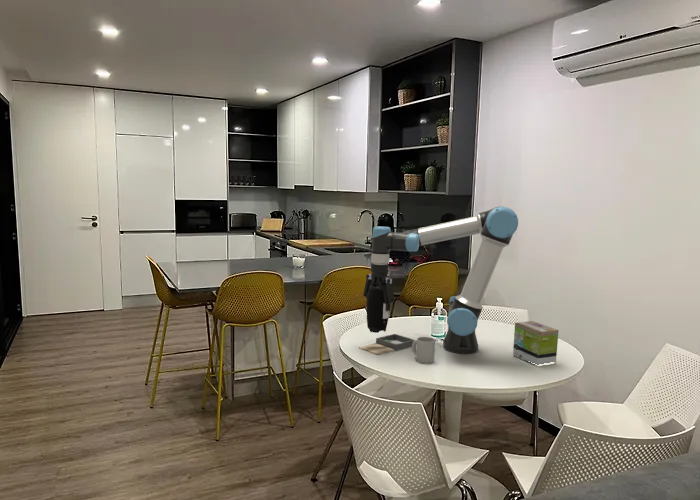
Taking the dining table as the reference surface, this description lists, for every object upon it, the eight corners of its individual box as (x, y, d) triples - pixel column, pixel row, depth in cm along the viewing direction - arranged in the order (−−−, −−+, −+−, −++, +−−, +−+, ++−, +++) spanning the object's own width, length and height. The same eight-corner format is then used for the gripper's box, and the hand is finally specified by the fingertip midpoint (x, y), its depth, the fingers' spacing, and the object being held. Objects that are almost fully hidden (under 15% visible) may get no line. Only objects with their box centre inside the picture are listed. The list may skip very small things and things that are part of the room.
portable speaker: (390, 332, 217) (392, 287, 215) (369, 333, 214) (371, 287, 212) (384, 327, 225) (386, 283, 223) (363, 328, 223) (365, 283, 220)
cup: (427, 365, 202) (429, 343, 201) (406, 359, 209) (407, 337, 208) (437, 361, 208) (438, 339, 207) (416, 355, 214) (417, 334, 213)
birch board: (393, 350, 220) (393, 349, 220) (377, 354, 213) (377, 353, 213) (375, 344, 228) (375, 343, 228) (359, 348, 221) (359, 347, 221)
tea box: (511, 355, 218) (514, 321, 216) (530, 353, 222) (532, 320, 220) (537, 367, 204) (540, 331, 203) (556, 364, 208) (559, 329, 207)
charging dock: (414, 345, 228) (415, 339, 228) (396, 350, 220) (396, 343, 220) (394, 339, 237) (395, 332, 237) (375, 343, 229) (376, 337, 228)
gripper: (405, 266, 211) (402, 320, 213) (368, 259, 227) (366, 309, 229) (392, 267, 206) (389, 322, 208) (356, 260, 222) (353, 312, 224)
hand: (377, 315), depth 219 cm, fingers closed on portable speaker, 9 cm apart
